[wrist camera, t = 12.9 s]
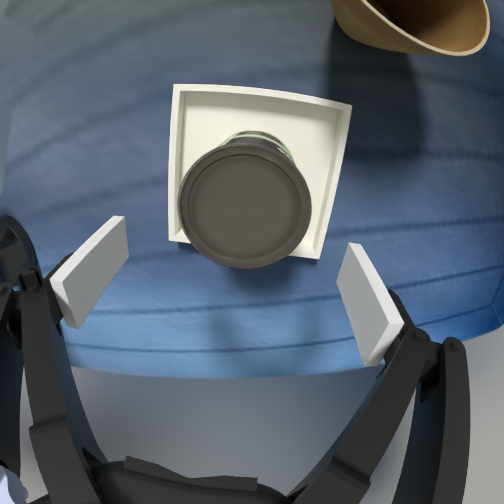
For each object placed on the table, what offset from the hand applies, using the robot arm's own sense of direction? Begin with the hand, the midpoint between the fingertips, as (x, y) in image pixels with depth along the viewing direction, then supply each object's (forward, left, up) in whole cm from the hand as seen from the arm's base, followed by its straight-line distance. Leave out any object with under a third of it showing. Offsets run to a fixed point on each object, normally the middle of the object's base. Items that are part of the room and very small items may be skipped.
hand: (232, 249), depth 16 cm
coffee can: (0, 0, -20) cm, 20 cm away
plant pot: (+11, +23, -21) cm, 33 cm away
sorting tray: (0, 0, -21) cm, 21 cm away
